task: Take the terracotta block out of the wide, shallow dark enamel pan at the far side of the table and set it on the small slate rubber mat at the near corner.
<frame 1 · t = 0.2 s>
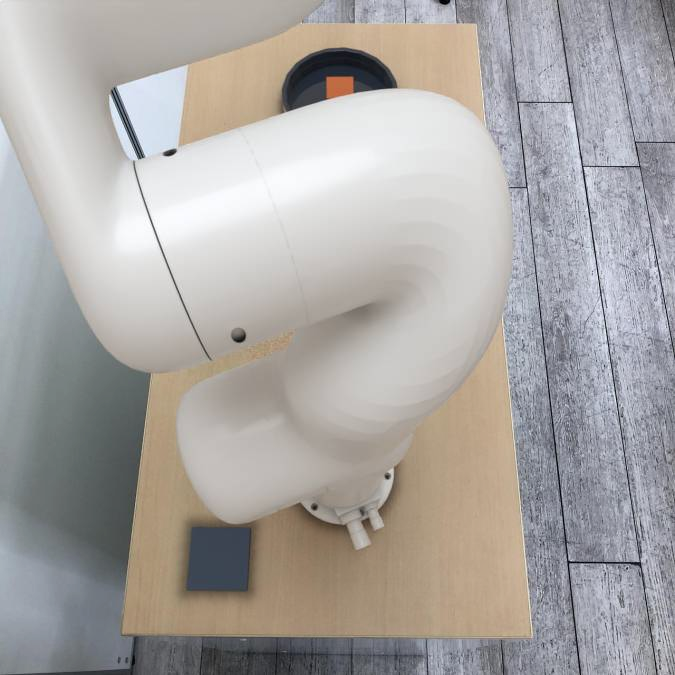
hand: (177, 5, 64), 31 cm above the table, tool pointing down, fingers open, 9 cm apart
pan: (339, 108, 98), on the table
mat: (219, 558, 74), on the table
pastry: (380, 296, 86), on the table
block: (339, 105, 97), resting on pan
beverage bottle: (415, 214, 91), on the table
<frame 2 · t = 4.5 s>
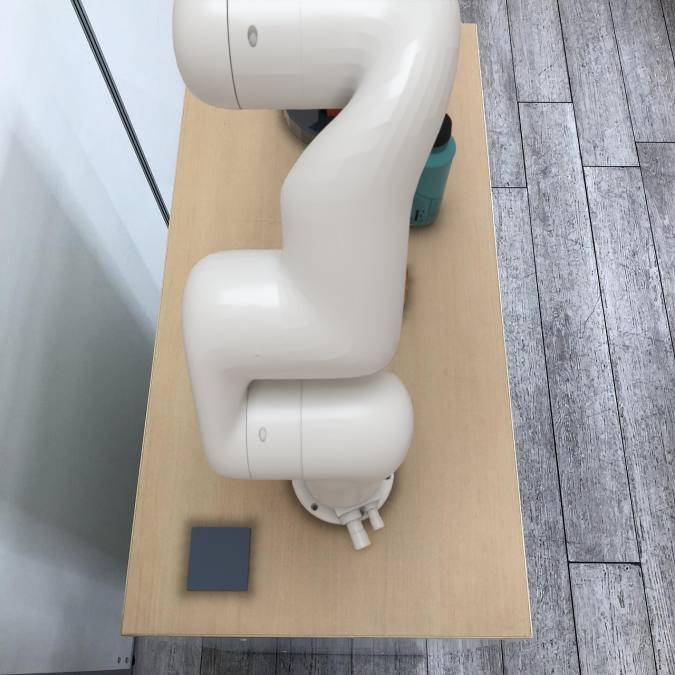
hand: (339, 104, 97), 1 cm above the table, tool pointing down, fingers closed on block, 4 cm apart
block: (339, 105, 97), point 1 cm above the table, touching gripper, pan
everything else where it was.
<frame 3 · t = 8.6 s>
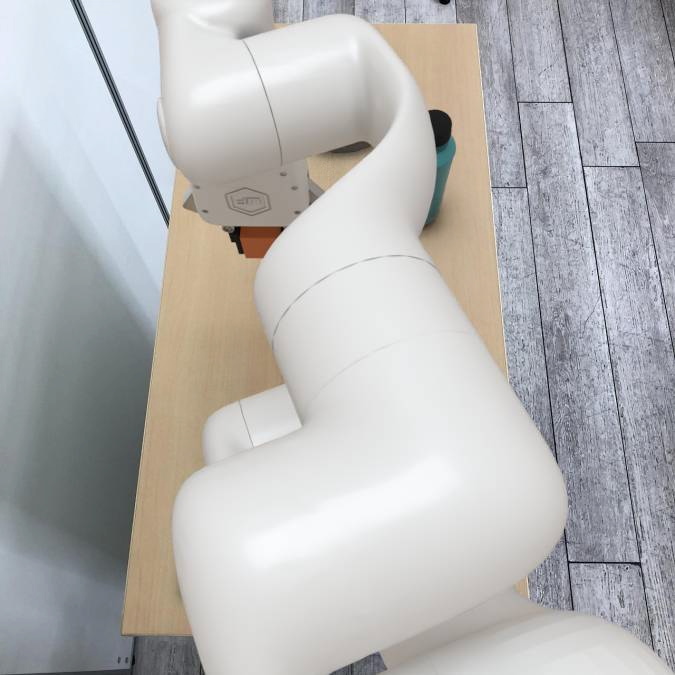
hand: (265, 241, 66), 21 cm above the table, tool pointing down, fingers closed on block, 4 cm apart
block: (266, 242, 66), point 21 cm above the table, touching gripper
everything else where it was.
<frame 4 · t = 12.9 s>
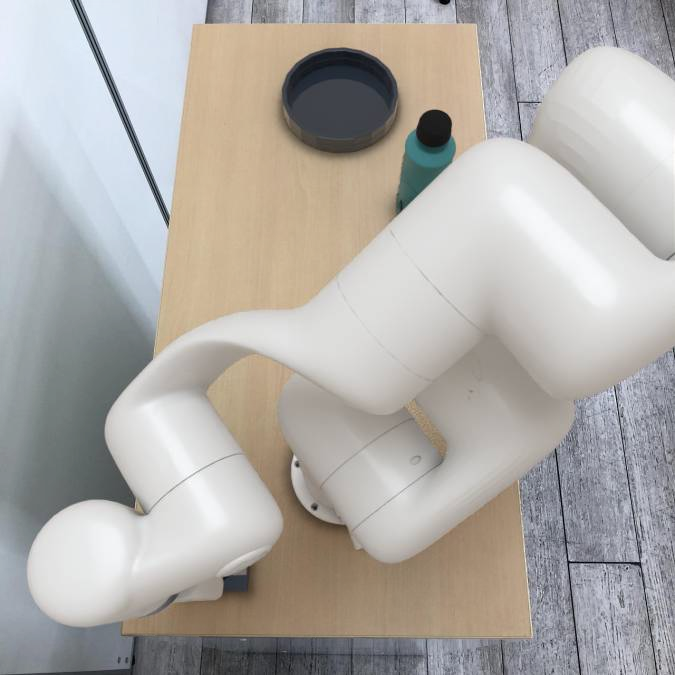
hand: (188, 569, 66), 9 cm above the table, tool pointing down, fingers closed on block, 4 cm apart
block: (188, 569, 66), point 8 cm above the table, touching gripper
everything else where it was.
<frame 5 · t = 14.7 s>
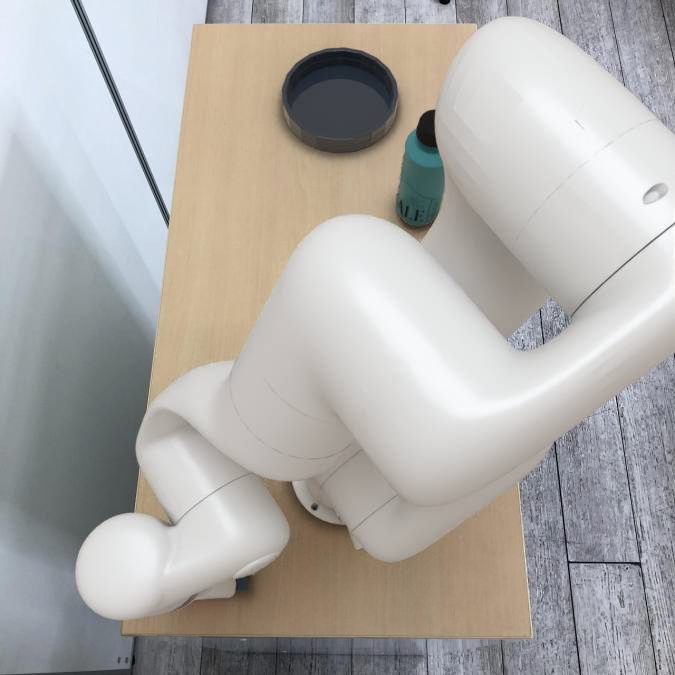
hand: (203, 570, 73), 1 cm above the table, tool pointing down, fingers closed on block, 4 cm apart
block: (203, 570, 73), resting on mat, touching gripper
everything else where it was.
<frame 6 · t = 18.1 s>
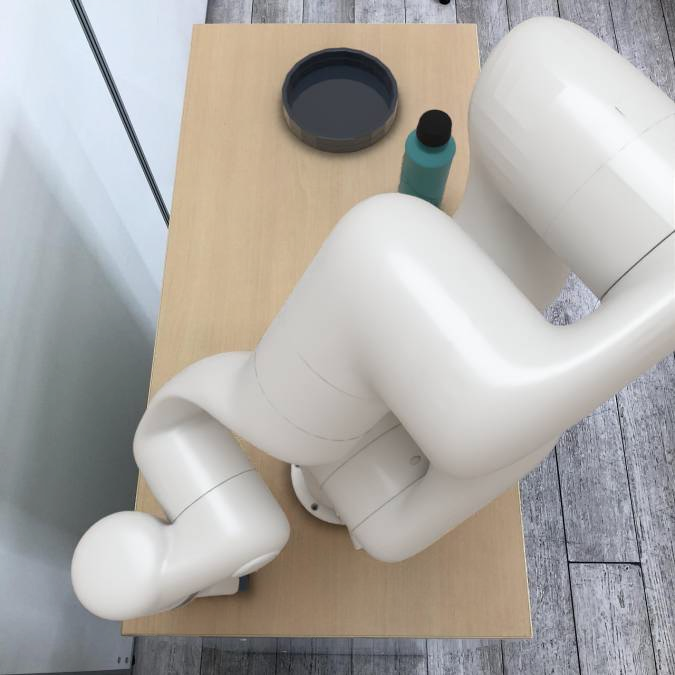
hand: (207, 566, 72), 2 cm above the table, tool pointing down, fingers closed on block, 4 cm apart
block: (207, 566, 73), point 1 cm above the table, touching gripper
everything else where it was.
when the fingers open (2 cm above the table, at t = 21.1 s): block drops 1 cm, resting on mat.
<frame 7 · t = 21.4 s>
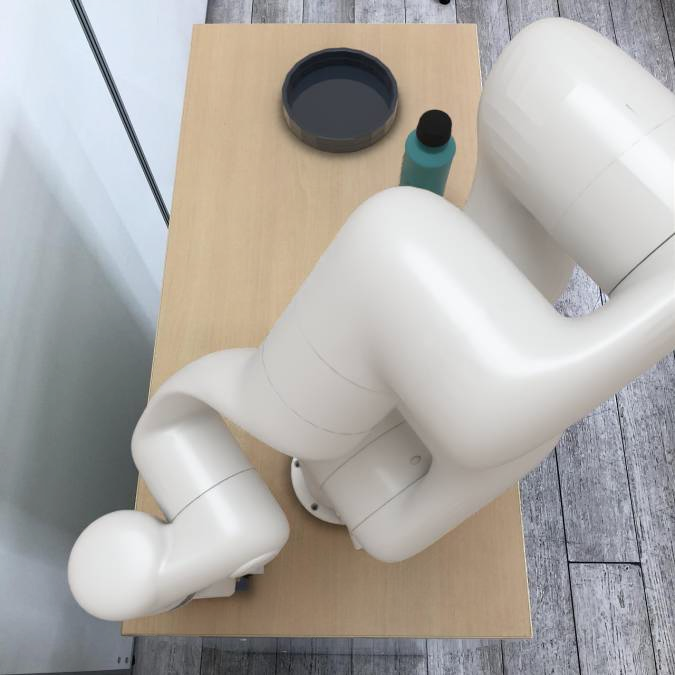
hand: (202, 568, 71), 3 cm above the table, tool pointing down, fingers open, 6 cm apart
block: (208, 568, 73), resting on mat
everything else where it was.
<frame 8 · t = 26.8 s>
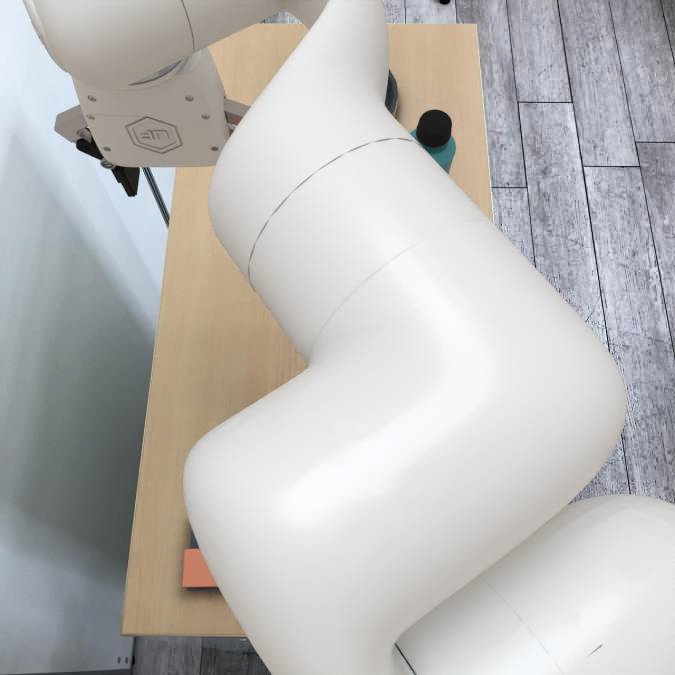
hand: (188, 183, 57), 30 cm above the table, tool pointing down, fingers open, 9 cm apart
nothing on the table moved.
at the end: block inside the target area on the mat (1.6 cm from its centre), point 0.4 cm above the mat's base; block moved 68.9 cm from its start; the gripper is holding nothing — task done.
